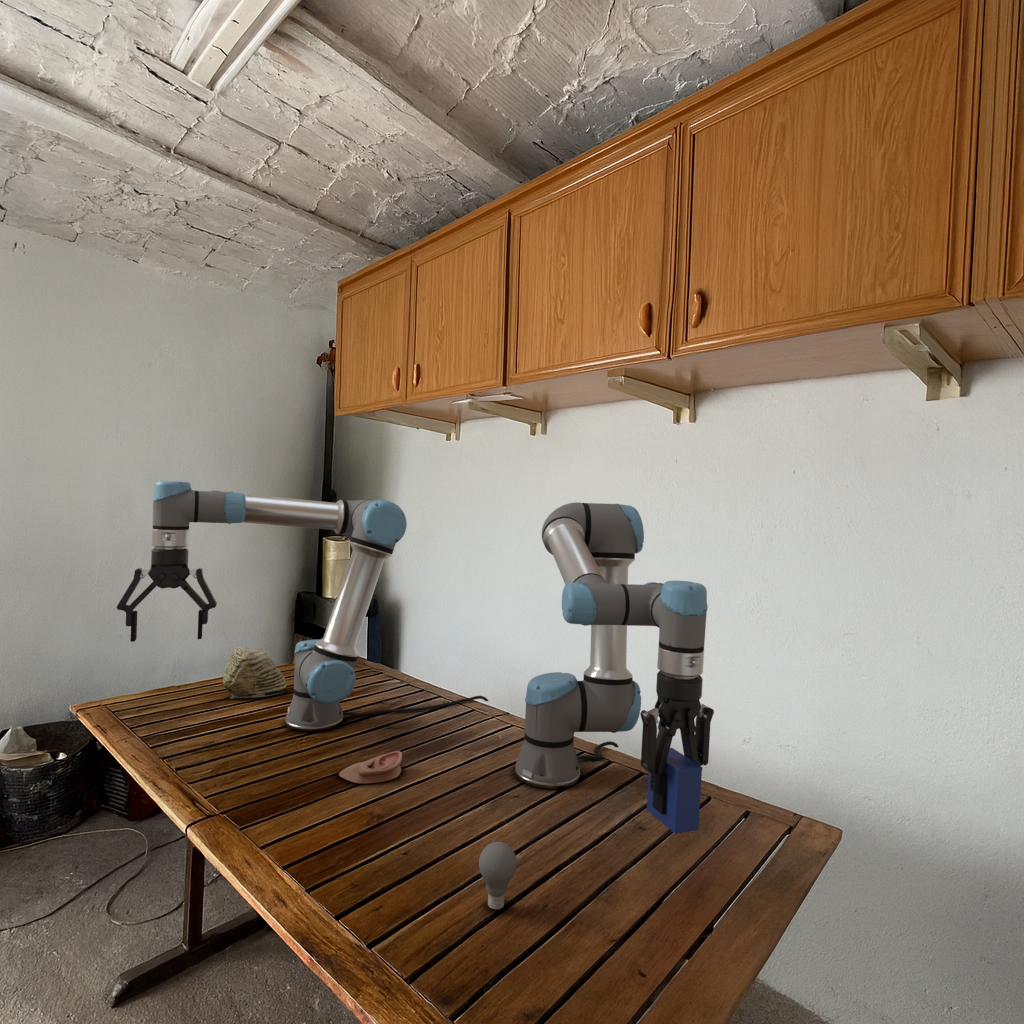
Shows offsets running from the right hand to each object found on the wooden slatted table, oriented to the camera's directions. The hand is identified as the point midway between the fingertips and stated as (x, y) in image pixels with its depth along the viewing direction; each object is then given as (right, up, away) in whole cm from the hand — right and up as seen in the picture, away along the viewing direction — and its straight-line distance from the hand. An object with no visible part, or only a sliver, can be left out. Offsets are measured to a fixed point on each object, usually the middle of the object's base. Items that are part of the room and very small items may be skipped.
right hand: (672, 807), depth 108 cm
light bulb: (-30, -12, -8) cm, 33 cm away
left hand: (-107, +21, +38) cm, 116 cm away
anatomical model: (-60, -10, +37) cm, 71 cm away
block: (0, -2, 0) cm, 2 cm away
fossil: (-108, -7, +90) cm, 141 cm away
